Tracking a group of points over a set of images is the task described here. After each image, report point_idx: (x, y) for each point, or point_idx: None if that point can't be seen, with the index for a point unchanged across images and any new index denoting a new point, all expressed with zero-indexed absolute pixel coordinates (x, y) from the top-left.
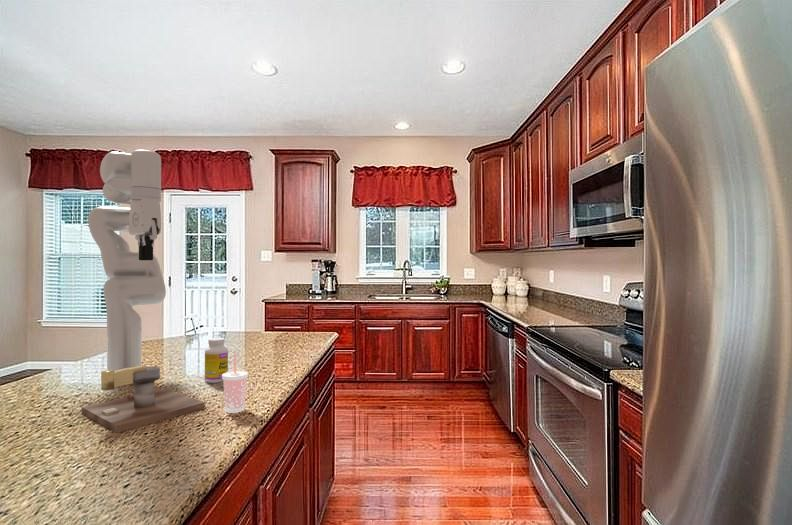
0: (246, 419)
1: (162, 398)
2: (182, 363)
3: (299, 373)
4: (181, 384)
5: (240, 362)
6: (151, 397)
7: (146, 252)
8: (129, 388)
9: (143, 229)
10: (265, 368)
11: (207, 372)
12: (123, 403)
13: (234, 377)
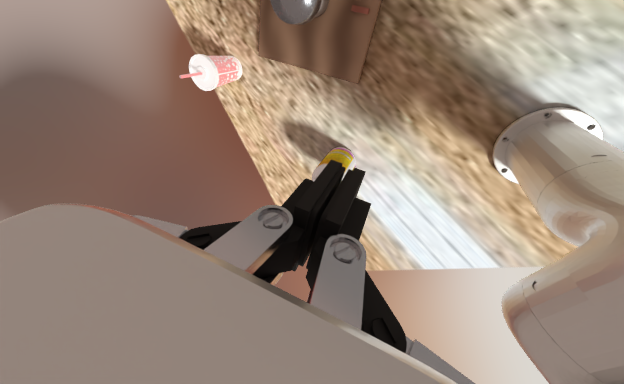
0: (201, 47)
1: (317, 39)
2: (471, 230)
3: None
4: (373, 129)
5: (378, 243)
6: None
7: (295, 195)
8: (444, 78)
9: (6, 220)
10: None
11: (338, 152)
12: None
13: (190, 59)
